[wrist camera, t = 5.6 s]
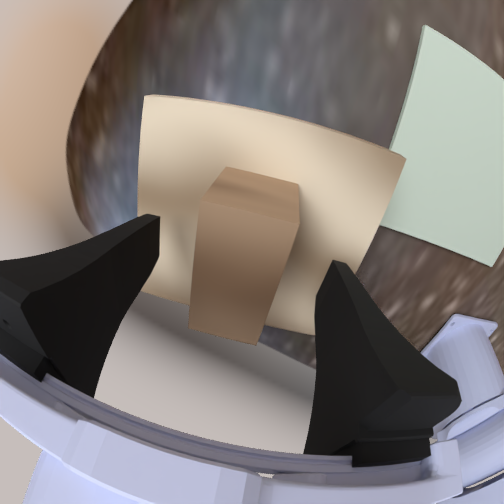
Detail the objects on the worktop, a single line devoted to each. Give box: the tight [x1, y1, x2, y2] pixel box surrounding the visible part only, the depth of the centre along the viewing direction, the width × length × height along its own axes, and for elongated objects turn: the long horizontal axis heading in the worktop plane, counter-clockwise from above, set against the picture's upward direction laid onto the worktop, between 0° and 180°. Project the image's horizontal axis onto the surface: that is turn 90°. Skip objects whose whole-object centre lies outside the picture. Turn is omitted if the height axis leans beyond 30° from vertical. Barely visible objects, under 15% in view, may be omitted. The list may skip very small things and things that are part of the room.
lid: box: [138, 95, 406, 345], centre depth 12 cm, size 11×11×4 cm
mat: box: [379, 25, 504, 267], centre depth 13 cm, size 13×13×1 cm
